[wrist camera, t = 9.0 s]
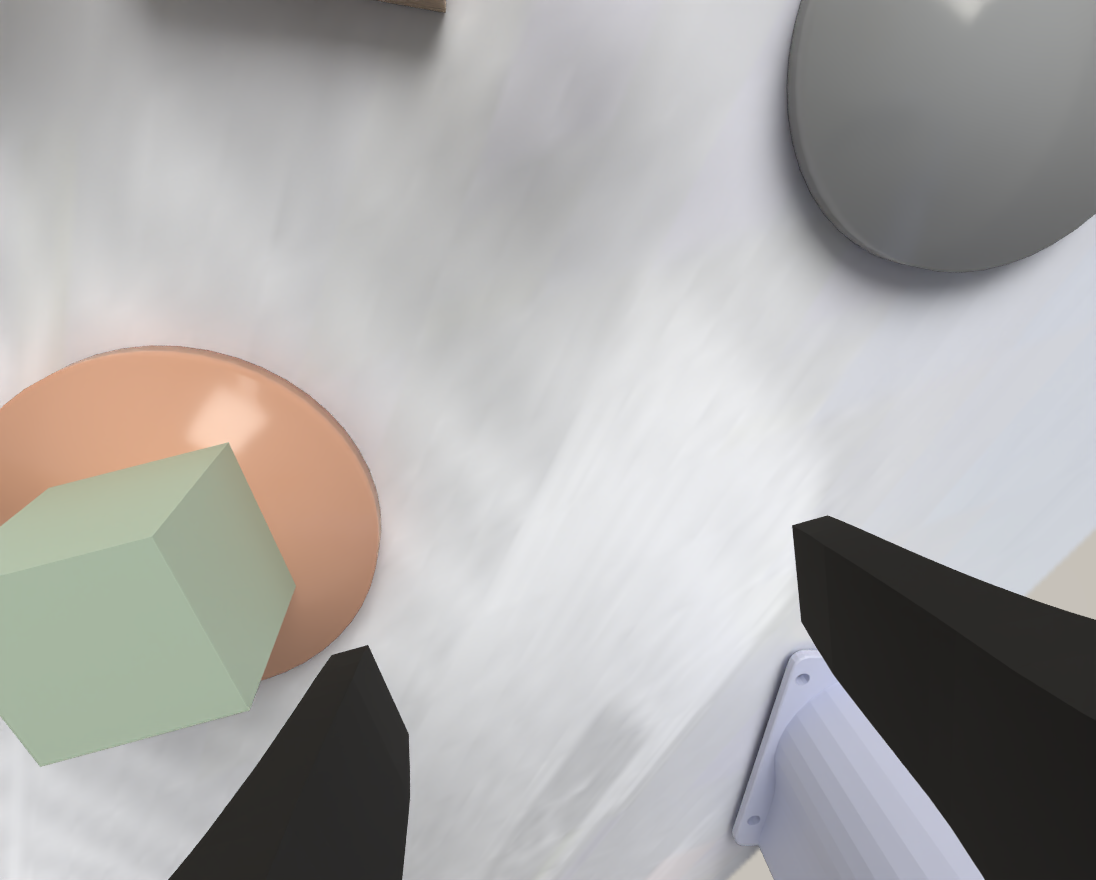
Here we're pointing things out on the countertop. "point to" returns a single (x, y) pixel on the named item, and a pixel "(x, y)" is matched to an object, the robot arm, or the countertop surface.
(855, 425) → the countertop surface
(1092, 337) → the countertop surface
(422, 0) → the balance
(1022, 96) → the glossy grey dome
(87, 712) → the block
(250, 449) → the peach glossy disc
